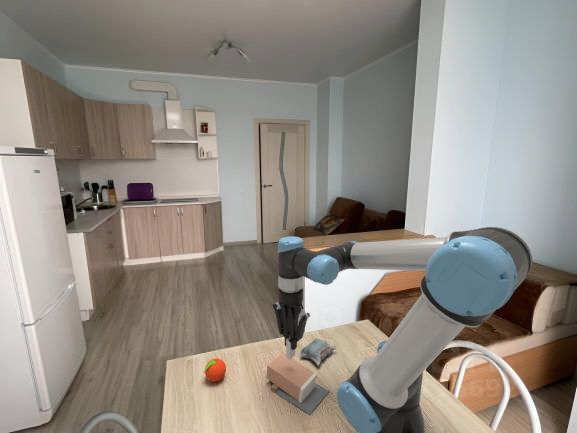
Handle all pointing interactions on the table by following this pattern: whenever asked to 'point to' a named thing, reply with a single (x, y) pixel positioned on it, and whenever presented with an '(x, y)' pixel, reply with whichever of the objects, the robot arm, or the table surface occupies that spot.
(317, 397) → the mat
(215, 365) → the clementine
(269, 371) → the terracotta block
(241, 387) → the table surface
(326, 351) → the packaged food
